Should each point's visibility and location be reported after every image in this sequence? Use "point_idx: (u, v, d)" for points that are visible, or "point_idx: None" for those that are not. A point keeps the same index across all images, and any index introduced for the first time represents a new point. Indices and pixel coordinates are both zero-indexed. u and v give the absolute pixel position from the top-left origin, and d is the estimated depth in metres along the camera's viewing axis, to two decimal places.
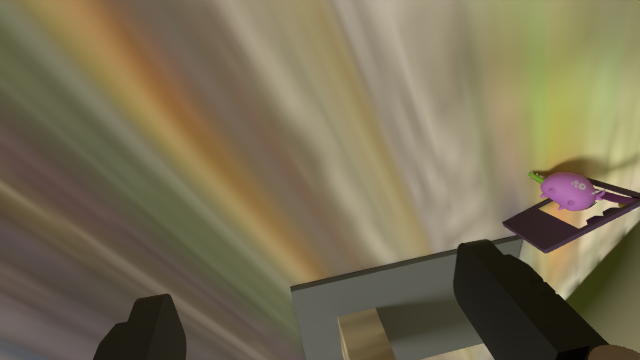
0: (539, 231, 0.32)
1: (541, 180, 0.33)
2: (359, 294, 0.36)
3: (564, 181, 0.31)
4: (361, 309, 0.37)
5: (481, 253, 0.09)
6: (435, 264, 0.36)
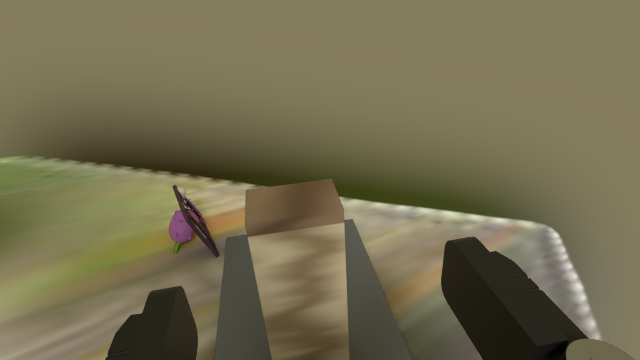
0: None
1: (176, 243, 0.44)
2: (243, 356, 0.31)
3: (169, 229, 0.44)
4: None
5: (467, 250, 0.10)
6: (229, 291, 0.37)
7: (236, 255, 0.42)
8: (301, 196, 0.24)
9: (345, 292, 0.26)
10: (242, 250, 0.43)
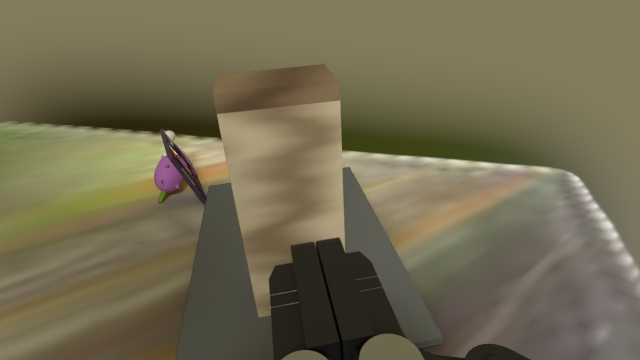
0: None
1: (162, 192, 0.39)
2: (221, 296, 0.26)
3: (154, 176, 0.39)
4: None
5: (325, 250, 0.10)
6: (208, 234, 0.33)
7: (219, 201, 0.37)
8: (286, 75, 0.19)
9: (341, 202, 0.21)
10: (225, 197, 0.38)
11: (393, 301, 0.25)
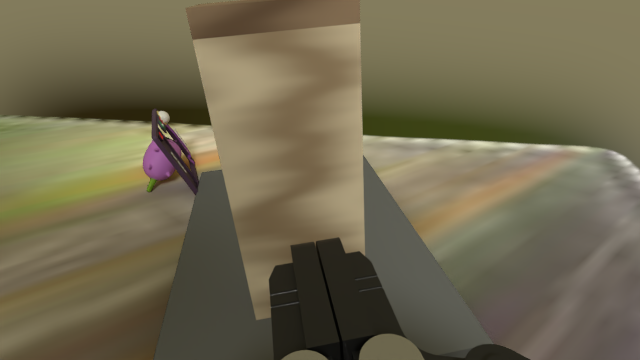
0: None
1: (151, 179, 0.34)
2: (211, 294, 0.21)
3: (143, 161, 0.34)
4: None
5: (325, 250, 0.10)
6: (198, 223, 0.28)
7: (212, 188, 0.33)
8: None
9: (360, 169, 0.16)
10: (220, 183, 0.33)
11: (424, 298, 0.20)
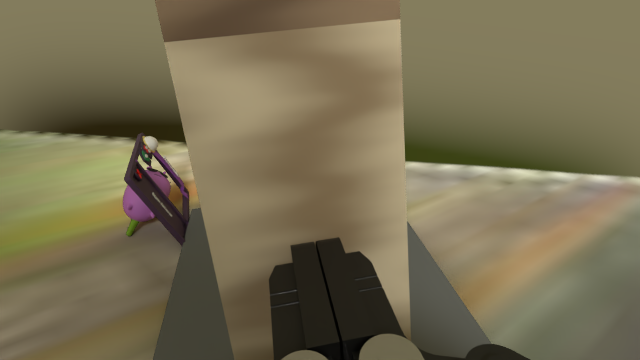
0: None
1: (131, 221, 0.28)
2: None
3: (123, 199, 0.28)
4: None
5: (325, 250, 0.10)
6: (184, 287, 0.22)
7: (204, 233, 0.27)
8: None
9: (403, 227, 0.11)
10: None
11: None
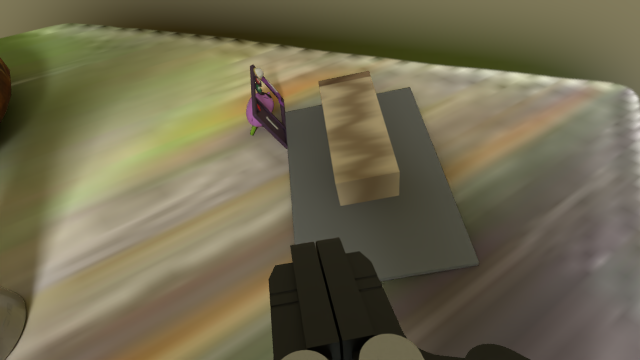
0: None
1: (253, 126, 0.45)
2: (317, 224, 0.36)
3: (246, 112, 0.45)
4: (340, 220, 0.36)
5: (325, 250, 0.10)
6: (295, 166, 0.41)
7: (297, 131, 0.44)
8: None
9: (380, 112, 0.38)
10: (302, 125, 0.45)
11: (444, 232, 0.34)
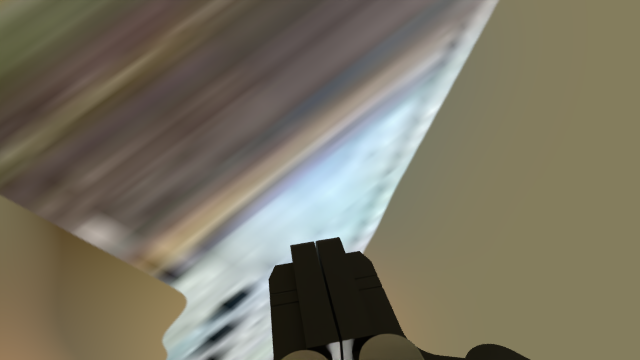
0: None
1: None
2: None
3: None
4: None
5: (325, 250, 0.10)
6: None
7: None
8: None
9: None
10: None
11: None
